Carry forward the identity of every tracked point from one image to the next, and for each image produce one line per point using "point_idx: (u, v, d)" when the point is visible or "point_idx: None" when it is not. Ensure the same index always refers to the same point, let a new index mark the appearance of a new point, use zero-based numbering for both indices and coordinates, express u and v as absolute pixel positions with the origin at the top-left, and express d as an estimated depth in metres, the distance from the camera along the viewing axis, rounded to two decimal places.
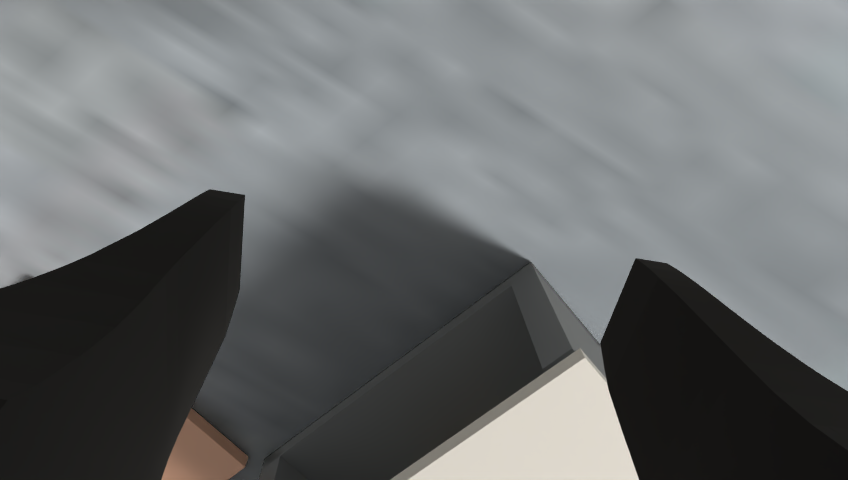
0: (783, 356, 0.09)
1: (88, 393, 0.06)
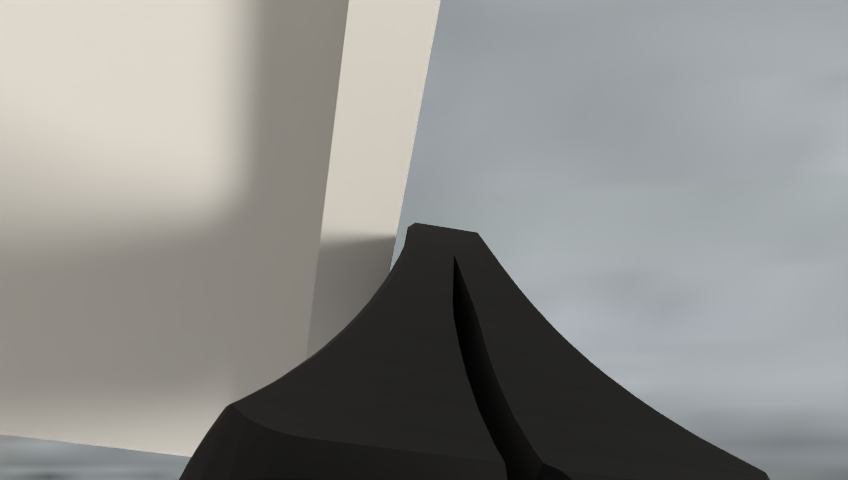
0: (533, 318, 0.09)
1: None
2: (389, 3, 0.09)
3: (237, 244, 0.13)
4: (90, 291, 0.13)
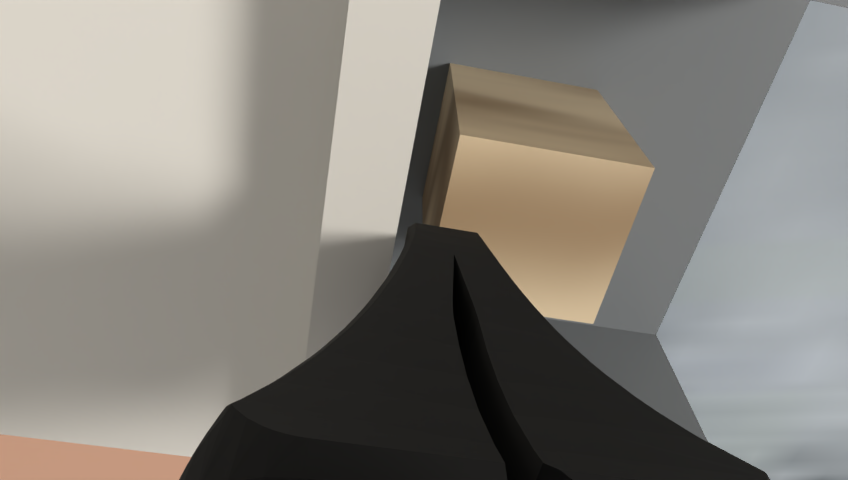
0: (533, 318, 0.09)
1: None
2: (389, 4, 0.09)
3: (237, 245, 0.13)
4: (90, 291, 0.13)
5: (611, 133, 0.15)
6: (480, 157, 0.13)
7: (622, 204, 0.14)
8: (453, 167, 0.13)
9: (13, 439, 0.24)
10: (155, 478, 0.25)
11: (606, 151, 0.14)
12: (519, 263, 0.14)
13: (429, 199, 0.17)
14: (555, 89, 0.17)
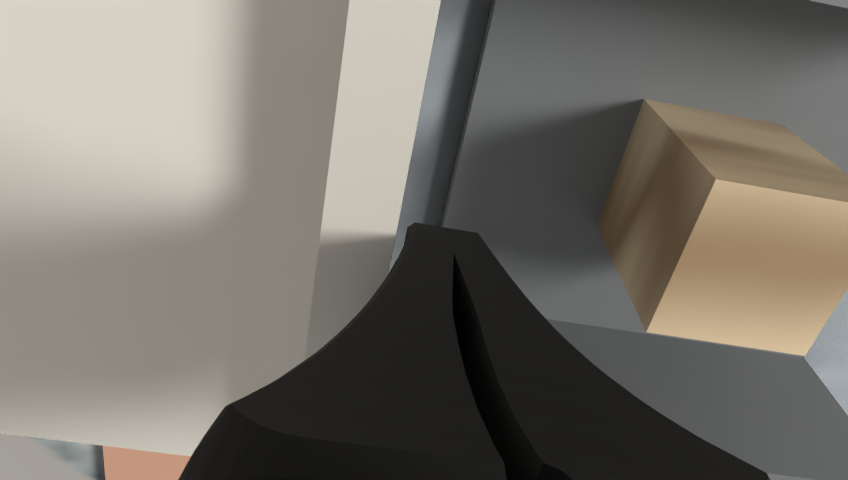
0: (533, 318, 0.09)
1: None
2: (389, 3, 0.09)
3: (236, 244, 0.13)
4: (89, 290, 0.13)
5: (830, 172, 0.15)
6: (730, 199, 0.14)
7: None
8: (702, 209, 0.14)
9: (159, 456, 0.25)
10: None
11: (843, 193, 0.14)
12: (746, 299, 0.15)
13: (625, 231, 0.18)
14: (749, 125, 0.17)
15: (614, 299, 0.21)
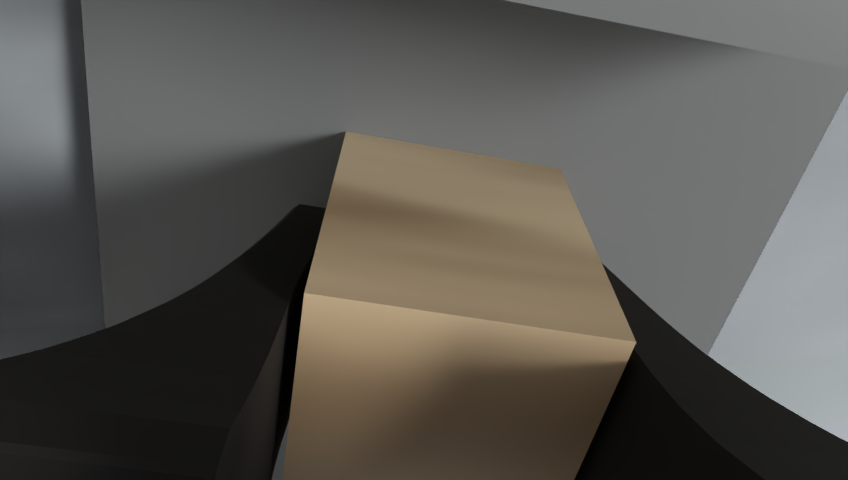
0: (677, 340, 0.09)
1: (255, 415, 0.06)
2: None
3: None
4: None
5: (570, 260, 0.09)
6: (342, 325, 0.08)
7: (583, 393, 0.08)
8: (299, 340, 0.08)
9: None
10: None
11: (558, 307, 0.08)
12: (424, 470, 0.09)
13: None
14: (497, 172, 0.12)
15: None
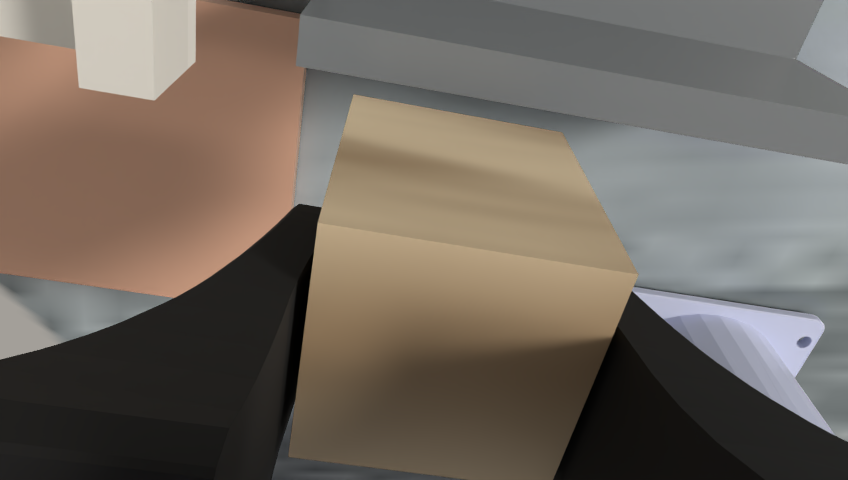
0: (677, 340, 0.09)
1: (255, 415, 0.06)
2: None
3: None
4: None
5: (573, 206, 0.10)
6: (355, 257, 0.08)
7: (587, 327, 0.09)
8: (312, 272, 0.08)
9: (34, 212, 0.21)
10: (197, 268, 0.22)
11: (562, 244, 0.09)
12: (431, 410, 0.09)
13: None
14: (501, 133, 0.12)
15: None
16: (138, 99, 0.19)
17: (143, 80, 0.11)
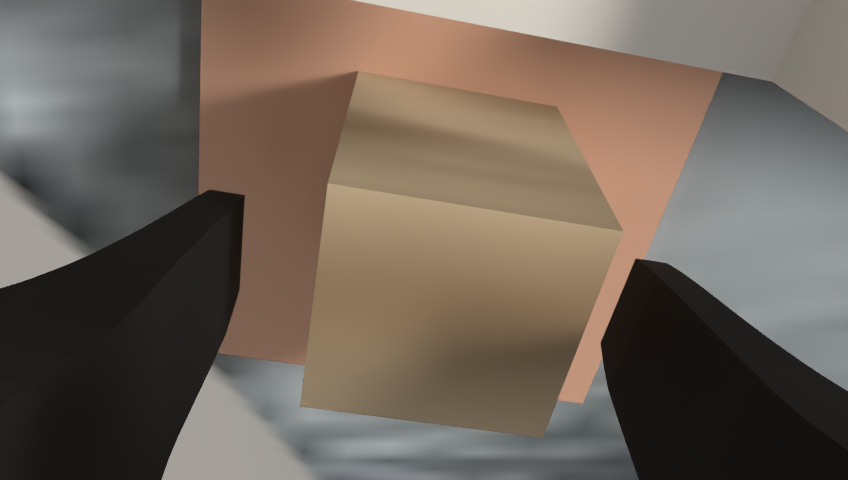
0: (783, 356, 0.09)
1: (88, 393, 0.06)
2: None
3: None
4: None
5: (564, 172, 0.10)
6: (361, 215, 0.09)
7: (576, 281, 0.09)
8: (322, 230, 0.09)
9: (287, 278, 0.15)
10: None
11: (552, 204, 0.09)
12: (433, 361, 0.10)
13: None
14: (498, 106, 0.13)
15: None
16: None
17: None
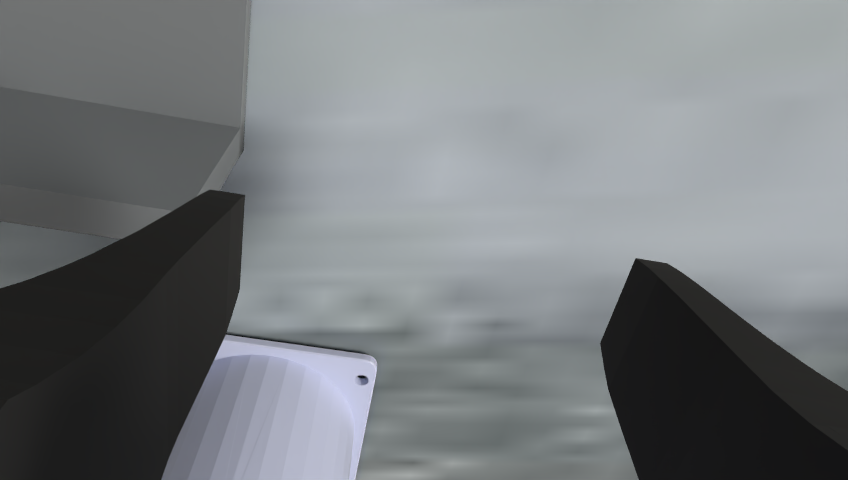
0: (783, 356, 0.09)
1: (88, 393, 0.06)
2: None
3: None
4: None
5: None
6: None
7: None
8: None
9: None
10: None
11: None
12: None
13: None
14: None
15: None
16: None
17: None
